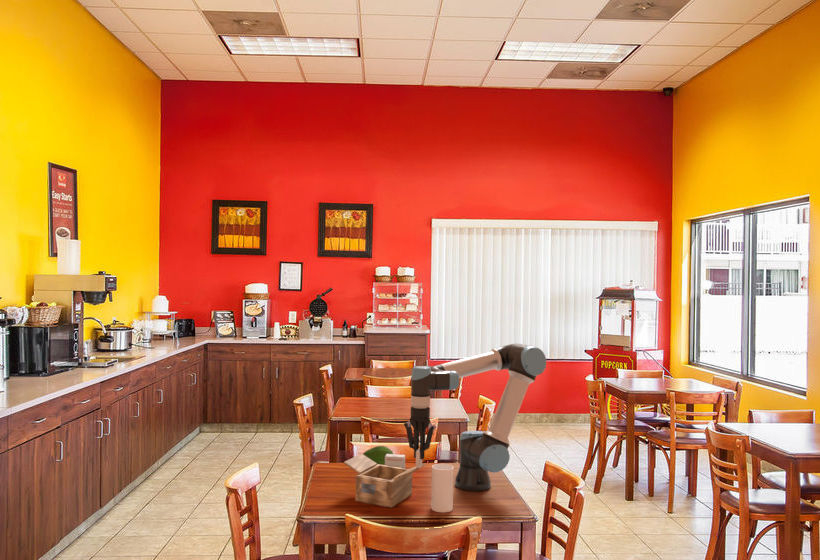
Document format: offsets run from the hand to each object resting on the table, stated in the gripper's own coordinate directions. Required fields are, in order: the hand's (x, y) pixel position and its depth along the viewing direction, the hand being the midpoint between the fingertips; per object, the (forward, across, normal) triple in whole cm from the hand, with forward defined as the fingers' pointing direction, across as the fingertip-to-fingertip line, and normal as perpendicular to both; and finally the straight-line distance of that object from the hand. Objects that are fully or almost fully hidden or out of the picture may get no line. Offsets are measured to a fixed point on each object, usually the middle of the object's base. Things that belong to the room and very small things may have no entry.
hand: (418, 466), depth 243 cm
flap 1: (+4, +22, 0) cm, 23 cm away
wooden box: (+15, +15, 0) cm, 21 cm away
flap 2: (+4, +8, 0) cm, 9 cm away
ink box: (+15, +20, -19) cm, 31 cm away
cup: (+15, -10, 0) cm, 18 cm away
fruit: (+15, +37, -35) cm, 53 cm away
